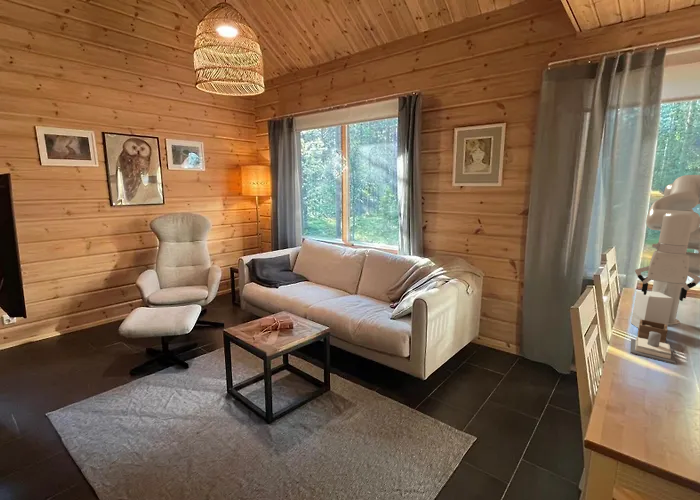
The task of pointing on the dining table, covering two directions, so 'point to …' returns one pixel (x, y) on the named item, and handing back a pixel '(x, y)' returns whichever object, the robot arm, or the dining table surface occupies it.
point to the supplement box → (651, 307)
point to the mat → (633, 345)
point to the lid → (653, 345)
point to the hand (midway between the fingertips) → (662, 296)
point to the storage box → (652, 329)
